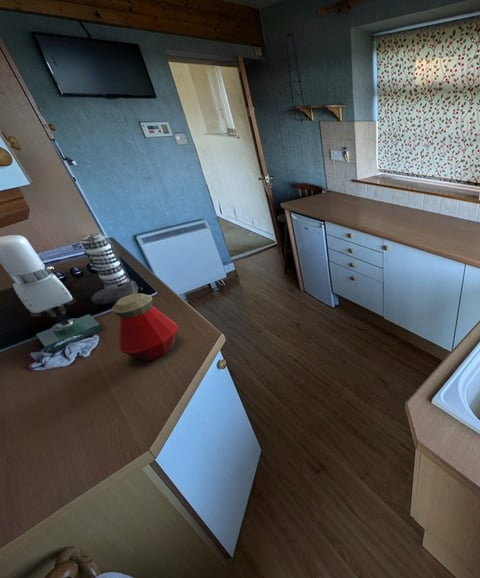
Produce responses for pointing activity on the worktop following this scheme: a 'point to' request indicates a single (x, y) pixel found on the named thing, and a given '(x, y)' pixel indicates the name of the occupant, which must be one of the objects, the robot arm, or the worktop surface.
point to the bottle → (143, 328)
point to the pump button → (65, 324)
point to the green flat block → (69, 332)
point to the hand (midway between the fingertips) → (65, 323)
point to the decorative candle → (103, 259)
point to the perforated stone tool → (115, 293)
